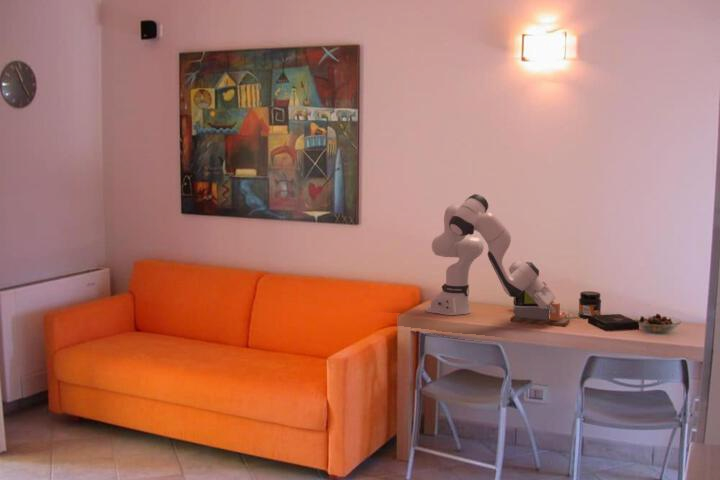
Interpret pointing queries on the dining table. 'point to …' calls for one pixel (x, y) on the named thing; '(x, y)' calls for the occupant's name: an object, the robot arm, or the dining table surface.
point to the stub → (555, 315)
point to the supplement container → (589, 304)
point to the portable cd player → (613, 322)
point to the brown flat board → (541, 321)
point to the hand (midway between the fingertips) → (556, 311)
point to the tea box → (524, 300)
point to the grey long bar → (531, 312)
